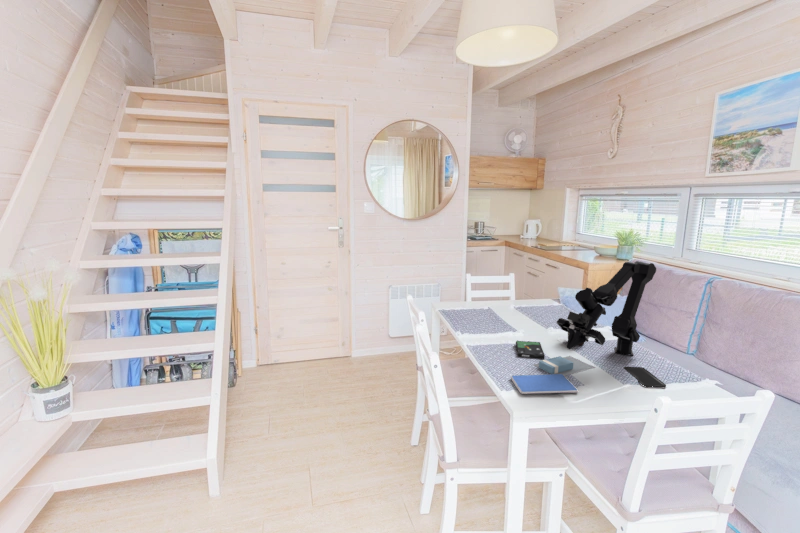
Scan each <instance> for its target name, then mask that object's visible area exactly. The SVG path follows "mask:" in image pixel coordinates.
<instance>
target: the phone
mask: <svg viewBox="0 0 800 533" xmlns="http://www.w3.org/2000/svg"><path fill="white" fill-rule="evenodd" d="M623 369H624V370H625V371H627V372H628V374H630V375H631V376H633V377H634V378H635V379H636V380H637V381H638V383H639V382H640V383H641V384H642V385H644V386H646V387H645V388H648V387H652V386H653V387H666V388H667V384H665V383H664V382H663V381H662V380H660V379H659V378H657V376H655V375H654V374H653V373H652V372H650V371H648V369H646V368H644V367H641V366H624V367H623ZM640 383H639V384H640ZM641 384H640V385H641ZM642 385H641V386H642ZM644 386H643V387H644Z"/></svg>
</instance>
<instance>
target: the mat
mask: <svg viewBox="0 0 800 533" xmlns="http://www.w3.org/2000/svg"><path fill="white" fill-rule="evenodd" d="M563 358H565V359H567V360H569V361H571V362H574V363H573V369H571V370H567V371H563V372H559V373H555V374H563V375H564V376H565V377H566V376H569V375H574V374H577V373H580V372H584V371H587V370H588V371H589V370H591V369H594V368H596V367H595V366H593V365H591V364H589V363H587V362H584V361H582V360H580V359H578V358H576V357H573V356H571V355H569V356H564V357H563ZM533 366H534V367H537V368H539V362H538V363H535V364H534V363H533ZM539 369H540V370H543V369H541V368H539ZM543 371H544V370H543Z"/></svg>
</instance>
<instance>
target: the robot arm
mask: <svg viewBox="0 0 800 533" xmlns="http://www.w3.org/2000/svg"><path fill="white" fill-rule="evenodd" d="M656 272H657V267H656V266H655V264H654V263H651V262H646V261H642V260H641V261H640V260H636V261H635V262H630V261H625V262H623V265H622V267H621V268H619V270H618V271H617V272H616V273H615V274H614V275H613V276H612V278H611V279H609V281H608V282H607V283H605V284H603V285H600V286H598V287H597V288H596V289H595V290H594V291H593V289H592V288H591V287H585V288H584V289H582V290H580V291H578V292H577V293H576V294H575V300H576V301H577V302H578V304H579V306H580V307H581V308H582V309H583V312H579V313H575V312H574V311H569V312H568V316H567V318H566V319H565V318H563V317H560V318H558V320H557V321H556V322H555V323H556V324H557V325H558V326H559V328H560V329H561V330H562V331H565V332H567V333H568V332H569V338H568V337H567V343H566V348H567V350H571V349H572V348H575V347H576V346H577V345H579V344H581V343H583V342H584V343H586V342H587V343H588V342H590V341H589V339H590V338H592V339H594V342H595V344H597V345H600V346H604V344H605V342H606V337H605V336H604V335H603V333H602V332H601V331H599V330H598V329H594V328H593V327H597V325H598V323H597V322H598V320H599V318H600V317H601V316H603V315H604V316H606V314H607V311H606V307H611V306H613V305H614V303H615V302H616V300H617V299H618V293H619V291H620V290H621V289H622V288H623V287H624V286H625V284H626V283H627V282H629V280H630V279H631V280H632V282H631V284H630V287H629V290H628V293H627V296H626V299H625V302H624V305H623V308H622V311H621V314H619V315H616V316H614V318H613V321H612V323H611V332H612V336H613V337H616V338H617V339H616V340H617V341H616V346H614V350H615V353H616V354H620V355H624V356H625V355H626V356H634V352H633V346H634V345H633V344H634V343H637V342H639V341H640V337H641V335H640V334H639V332H638V330H637V325H638V324H637V321H636V314H637V312H638V309H639V305H640V303H641V299H642V297H643V294H644V290H645V288H646V285H647V284H648V283H649V282H650V281H652V280H653V278H654V276H655V274H656ZM603 306H606V307H603ZM568 320H572V323H573V324H574V325H572V324H571V323H570V322H569V321H568ZM577 347H578V346H577Z"/></svg>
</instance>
